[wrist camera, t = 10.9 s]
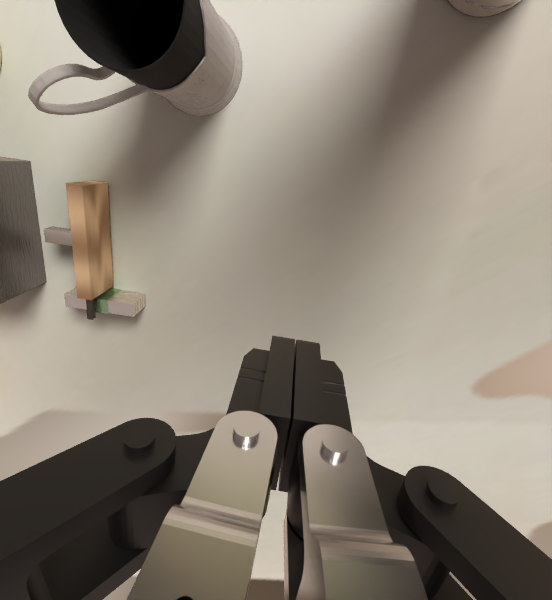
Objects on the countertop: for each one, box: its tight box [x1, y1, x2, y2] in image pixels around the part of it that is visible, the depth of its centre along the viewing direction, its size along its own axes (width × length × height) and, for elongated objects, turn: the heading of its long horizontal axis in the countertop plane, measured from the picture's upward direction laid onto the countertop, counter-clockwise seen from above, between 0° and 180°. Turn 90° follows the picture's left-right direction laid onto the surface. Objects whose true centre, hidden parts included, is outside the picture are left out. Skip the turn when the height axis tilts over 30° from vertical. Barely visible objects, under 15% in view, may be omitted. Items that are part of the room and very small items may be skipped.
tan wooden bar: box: [44, 181, 113, 320], centre depth 37 cm, size 15×6×5 cm, turn 172°
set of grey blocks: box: [0, 157, 146, 317], centre depth 36 cm, size 15×19×7 cm
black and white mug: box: [28, 0, 242, 116], centre depth 26 cm, size 9×14×15 cm, turn 121°
